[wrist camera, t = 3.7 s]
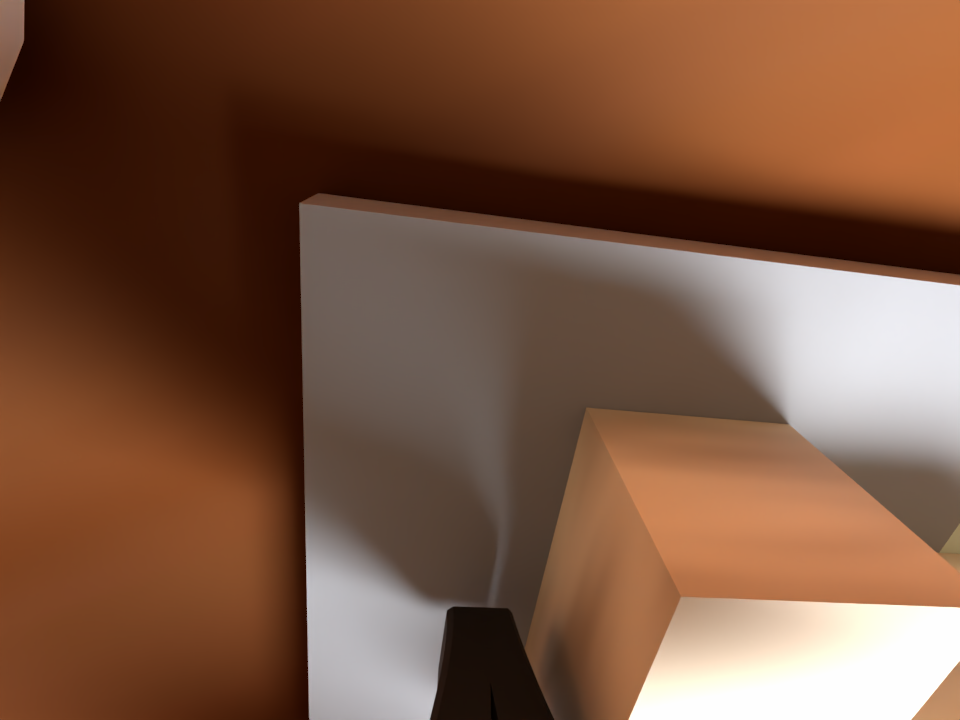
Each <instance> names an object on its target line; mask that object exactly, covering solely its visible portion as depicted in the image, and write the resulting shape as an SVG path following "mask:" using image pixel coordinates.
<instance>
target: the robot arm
mask: <svg viewBox="0 0 960 720" xmlns="http://www.w3.org/2000/svg"><path fill="white" fill-rule="evenodd" d="M430 720H554V718H553V716H552V713H551V711H550V709H549V707H548V705H547V703H546V700H545V698H544V696H543V693H542V691H541V689H540V686H539V684H538V682H537V679H536V677H535V674H534V672H533V669H532V667H531V664H530V662H529V659H528V657H527V654H526V652H525V649H524V646H523V643H522V641H521V638H520V635H519V632H518V629H517V626H516V623H515V620H514V617H513V614H512V612H511V611H510V610H509V609H508V608H487V607H458V606H453V607H451V608H450V609H448V610H447V613H446V620H445V626H444V633H443V640H442V647H441V654H440V661H439V667H438V683H437V692H436V696H435V700H434V704H433V708H432V713H431V717H430Z"/></svg>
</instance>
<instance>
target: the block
mask: <svg viewBox="0 0 960 720" xmlns="http://www.w3.org/2000/svg"><path fill="white" fill-rule="evenodd" d="M525 652H526V654H527V657H528V659H529V662H530V664H531V667H532V669H533V672H534V674H535V677H536V679H537V682H538V684H539V686H540V689H541V691H542V693H543V696H544V698H545V700H546V703H547V705H548V707H549V709H550V711H551V713H552V716H553V718H554V720H960V554H952V553H937V552H935V551H934V550H933V549H932V548H931V547H930V546H929V545H927V544H926V543H925V542H924V541H923V540H922V539H920V538H919V537H918V536H917V535H916V534H915V533H914V532H912V531H911V530H910V529H909V528H908V527H907V526H905V525H904V524H903V523H902V522H901V521H900V520H899V519H897V518H896V517H895V516H894V515H893V514H892V513H891V512H889V511H888V510H887V509H886V508H885V507H884V506H882V505H881V504H880V503H879V502H878V501H877V500H876V499H874V498H873V497H872V496H871V495H870V494H869V493H867V492H866V491H865V490H864V489H863V488H862V487H861V486H859V485H858V484H857V483H856V482H855V481H854V480H853V479H851V478H850V477H849V476H848V475H847V474H846V473H844V472H843V471H842V470H841V469H840V468H839V467H838V466H836V465H835V464H834V463H833V462H832V461H831V460H829V459H828V458H827V457H826V456H825V455H824V454H823V453H821V452H820V451H819V450H818V449H817V448H816V447H815V446H813V445H812V444H811V443H810V442H809V441H808V440H806V439H805V438H804V437H803V436H802V435H801V434H800V433H798V432H797V431H796V430H795V429H794V428H793V427H791V426H790V425H789V424H779V423H767V422H755V421H743V420H731V419H719V418H706V417H694V416H682V415H670V414H658V413H646V412H634V411H622V410H610V409H598V408H586V411H585V415H584V419H583V422H582V426H581V430H580V434H579V438H578V442H577V446H576V450H575V454H574V458H573V462H572V466H571V469H570V473H569V477H568V481H567V485H566V489H565V493H564V497H563V501H562V505H561V509H560V513H559V516H558V520H557V524H556V528H555V532H554V536H553V540H552V544H551V548H550V552H549V556H548V560H547V563H546V567H545V571H544V575H543V579H542V583H541V587H540V591H539V595H538V599H537V603H536V606H535V610H534V614H533V618H532V622H531V626H530V630H529V634H528V638H527V642H526V646H525Z"/></svg>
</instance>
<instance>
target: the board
mask: <svg viewBox="0 0 960 720" xmlns="http://www.w3.org/2000/svg"><path fill="white" fill-rule="evenodd" d="M299 216H300V268H301V320H302V372H303V424H304V476H305V529H306V581H307V633H308V685H309V720H430V717H431V713H432V708H433V704H434V700H435V696H436V692H437V683H438V667H439V661H440V654H441V647H442V640H443V633H444V626H445V620H446V613H447V610H448V609H450V608H451V607H453V606H458V607H487V608H508V609H509V610H510V611H511V612H512V614H513V617H514V620H515V623H516V626H517V629H518V632H519V635H520V638H521V641H522V643H523V646H524V649H525V646H526V642H527V638H528V634H529V630H530V626H531V622H532V618H533V614H534V610H535V606H536V603H537V599H538V595H539V591H540V587H541V583H542V579H543V575H544V571H545V567H546V563H547V560H548V556H549V552H550V548H551V544H552V540H553V536H554V532H555V528H556V524H557V520H558V516H559V513H560V509H561V505H562V501H563V497H564V493H565V489H566V485H567V481H568V477H569V473H570V469H571V466H572V462H573V458H574V454H575V450H576V446H577V442H578V438H579V434H580V430H581V426H582V422H583V419H584V415H585V411H586V408H598V409H610V410H622V411H634V412H646V413H658V414H670V415H682V416H694V417H706V418H719V419H731V420H743V421H755V422H767V423H779V424H789V425H790V426H791V427H793V428H794V429H795V430H796V431H797V432H798V433H800V434H801V435H802V436H803V437H804V438H805V439H806V440H808V441H809V442H810V443H811V444H812V445H813V446H815V447H816V448H817V449H818V450H819V451H820V452H821V453H823V454H824V455H825V456H826V457H827V458H828V459H829V460H831V461H832V462H833V463H834V464H835V465H836V466H838V467H839V468H840V469H841V470H842V471H843V472H844V473H846V474H847V475H848V476H849V477H850V478H851V479H853V480H854V481H855V482H856V483H857V484H858V485H859V486H861V487H862V488H863V489H864V490H865V491H866V492H867V493H869V494H870V495H871V496H872V497H873V498H874V499H876V500H877V501H878V502H879V503H880V504H881V505H882V506H884V507H885V508H886V509H887V510H888V511H889V512H891V513H892V514H893V515H894V516H895V517H896V518H897V519H899V520H900V521H901V522H902V523H903V524H904V525H905V526H907V527H908V528H909V529H910V530H911V531H912V532H914V533H915V534H916V535H917V536H918V537H919V538H920V539H922V540H923V541H924V542H925V543H926V544H927V545H929V546H930V547H931V548H932V549H933V550H934V551H935V552H937V553H952V554H960V275H958V274H950V273H942V272H934V271H926V270H918V269H911V268H903V267H895V266H887V265H879V264H871V263H863V262H856V261H848V260H840V259H832V258H824V257H816V256H808V255H801V254H793V253H785V252H777V251H769V250H761V249H753V248H746V247H738V246H730V245H722V244H714V243H706V242H698V241H691V240H683V239H675V238H667V237H659V236H651V235H643V234H636V233H628V232H620V231H612V230H604V229H596V228H588V227H580V226H573V225H565V224H557V223H549V222H541V221H533V220H525V219H518V218H510V217H502V216H494V215H486V214H478V213H470V212H463V211H455V210H447V209H439V208H431V207H423V206H415V205H408V204H400V203H392V202H384V201H376V200H368V199H360V198H353V197H345V196H337V195H329V194H321V193H318V194H316V195H314V196H312V197H310V198H308V199H306V200H304V201H303V202H301V203H299Z"/></svg>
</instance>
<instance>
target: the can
mask: <svg viewBox="0 0 960 720" xmlns="http://www.w3.org/2000/svg"><path fill="white" fill-rule="evenodd" d="M23 42H24V0H0V100H1V98H2V95H3V93H4V90H5V88H6V85H7V83H8V80H9V78H10V75H11V73H12V70H13V67H14V65H15V62H16V60H17V57H18V55H19V52H20V50H21V47H22V45H23Z"/></svg>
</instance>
